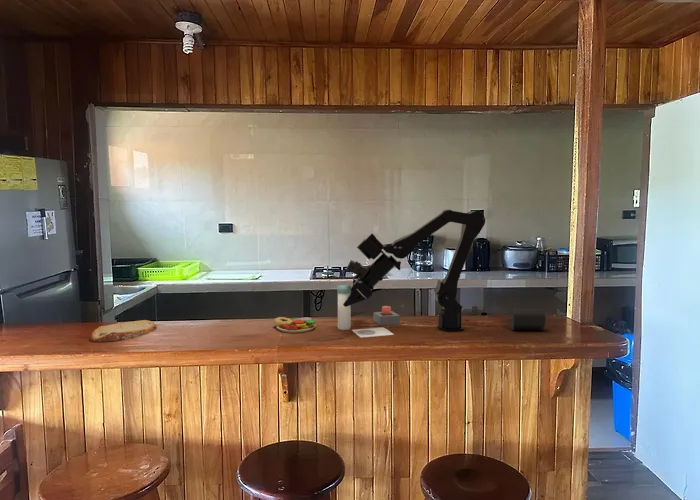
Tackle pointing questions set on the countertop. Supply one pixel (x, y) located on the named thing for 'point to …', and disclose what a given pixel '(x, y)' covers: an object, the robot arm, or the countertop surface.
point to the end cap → (527, 319)
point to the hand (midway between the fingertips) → (344, 302)
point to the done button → (386, 310)
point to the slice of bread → (122, 331)
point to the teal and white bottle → (343, 311)
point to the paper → (372, 332)
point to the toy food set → (295, 324)
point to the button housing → (386, 318)
